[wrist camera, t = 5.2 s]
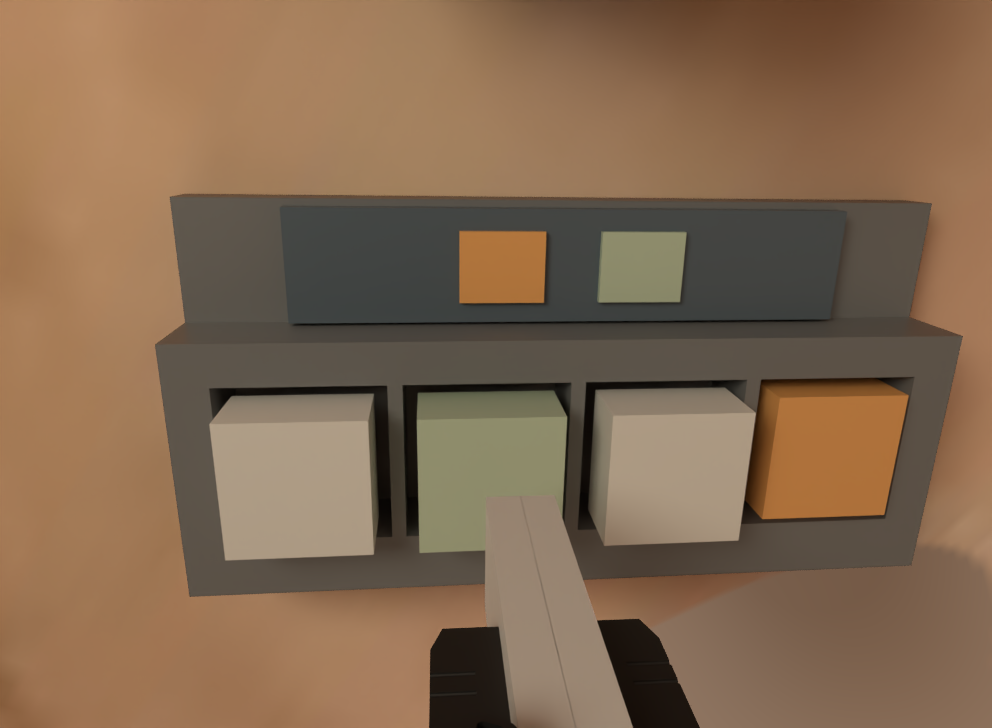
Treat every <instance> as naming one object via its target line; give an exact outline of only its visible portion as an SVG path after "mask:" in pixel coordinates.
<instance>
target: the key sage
mask: <svg viewBox="0 0 992 728" xmlns="http://www.w3.org/2000/svg"><path fill="white" fill-rule="evenodd" d="M566 430H567V416H566V414H565V412H564V410H563V408H562V406H561V404H560V402H559V400H558V398H557V396H556V394H555V392H554V390H548V391H490V392H432V393H418V403H417V454H418V502H419V551H420V553H431V552H457V551H483V550H485V541H486V497H501V496H540V495H555V498H556V501H557V504H558V507H559V510H560V513H561V516H562V511H563V491H564V470H565V450H566Z"/></svg>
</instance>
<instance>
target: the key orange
mask: <svg viewBox="0 0 992 728" xmlns="http://www.w3.org/2000/svg"><path fill="white" fill-rule="evenodd" d="M908 397H909V395H907V394H905V393H903V392H901V391H899V390H897V389H896V388H894V387H892V386H890V385H888V384H886V383H884V382H882V381H880V380H878V379H876V378H818V379H761V383H760V391H759V398H758V405H757V413H756V420H755V427H754V435H753V442H752V449H751V457H750V464H749V471H748V478H747V486H746V493H745V501H746V502H747V503H748V504H749V505H750V506H751V507H752V508H753V510H754V511H755V512H756V513H757V514H758V515H759V516H760V517H761V518H762V519H783V518H811V517H839V516H867V515H884V513H885V508H886V503H887V499H888V494H889V489H890V484H891V479H892V474H893V469H894V465H895V460H896V455H897V450H898V445H899V440H900V435H901V431H902V426H903V421H904V416H905V411H906V406H907V401H908Z"/></svg>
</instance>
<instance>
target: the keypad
mask: <svg viewBox="0 0 992 728" xmlns="http://www.w3.org/2000/svg"><path fill="white" fill-rule="evenodd" d="M170 203H171V211H172V219H173V227H174V235H175V243H176V251H177V260H178V268H179V276H180V284H181V292H182V300H183V309H184V317H185V323H184V324H183V325H181V326H180V327H179V328H177V329H176V330H174V331H173V332H172V333H170V334H169V335H168V336H166V337H165V338H163V339H162V340H161V341H159V342H158V343H157V344H155V348H156V355H157V363H158V370H159V377H160V384H161V392H162V399H163V406H164V413H165V421H166V428H167V435H168V443H169V450H170V457H171V464H172V472H173V479H174V486H175V494H176V501H177V508H178V515H179V523H180V530H181V537H182V545H183V552H184V559H185V566H186V574H187V581H188V588H189V595H190V597H194V596H217V595H240V594H263V593H286V592H309V591H332V590H355V589H378V588H401V587H424V586H447V585H470V584H485V550H483V551H457V552H431V553H420V551H419V502H418V454H417V403H418V393H432V392H490V391H548V390H554V392H555V394H556V396H557V398H558V400H559V402H560V404H561V406H562V408H563V410H564V412H565V414H566V416H567V430H566V450H565V470H564V491H563V511H562V519H563V522H564V525H565V528H566V531H567V534H568V537H569V540H570V543H571V546H572V549H573V552H574V554H575V557H576V560H577V563H578V566H579V569H580V572H581V575H582V578H583V580H586V579H609V578H632V577H655V576H678V575H701V574H724V573H747V572H770V571H793V570H816V569H839V568H863V567H884V566H885V567H886V566H906V565H907V566H909V565H911V564H912V560H913V555H914V551H915V547H916V542H917V538H918V533H919V529H920V524H921V520H922V515H923V511H924V507H925V502H926V498H927V493H928V489H929V484H930V480H931V475H932V471H933V466H934V462H935V457H936V453H937V449H938V444H939V440H940V435H941V431H942V426H943V422H944V417H945V413H946V408H947V404H948V400H949V395H950V391H951V386H952V382H953V377H954V373H955V368H956V364H957V359H958V355H959V351H960V346H961V342H962V337H963V336H961V335H958V334H955V333H952V332H950V331H947V330H944V329H941V328H938V327H936V326H933V325H930V324H927V323H924V322H921V321H919V320H916V319H913V318H910V317H909V316H910V311H911V305H912V300H913V295H914V290H915V285H916V280H917V275H918V270H919V265H920V260H921V255H922V250H923V245H924V240H925V235H926V230H927V225H928V220H929V215H930V210H931V205H932V203H923V202H914V201H901V200H792V199H682V198H573V197H463V196H354V195H244V194H182V195H177V196H172V197H170ZM818 378H876V379H878V380H880V381H882V382H884V383H886V384H888V385H890V386H892V387H894V388H896V389H897V390H899V391H901V392H903V393H905V394H907V395H909V397H908V401H907V406H906V411H905V416H904V421H903V426H902V431H901V435H900V440H899V445H898V450H897V455H896V460H895V465H894V469H893V474H892V479H891V484H890V489H889V494H888V499H887V503H886V508H885V513H884V515H867V516H839V517H811V518H783V519H762V518H761V517H760V516H759V515H758V514H757V513H756V512H755V511H754V510H753V508H752V507H751V506H750V505H749V504H748V503H747V502H746V501H745V496H744V504H743V511H742V518H741V526H740V533H739V540H738V541H714V542H689V543H663V544H637V545H611V546H604V544H603V542H602V540H601V537H600V535H599V533H598V531H597V528H596V526H595V524H594V522H593V519H592V517H591V515H590V512H589V510H588V502H589V486H590V469H591V453H592V437H593V421H594V404H595V390H606V389H664V388H721V387H725V388H726V389H727V390H728V391H730V392H731V393H732V394H733V395H735V396H736V397H737V398H738V399H740V400H741V401H742V402H743V403H744V404H746V405H747V406H748V407H749V408H751V409H752V410H753V411H754V412H756V413H757V405H758V398H759V391H760V383H761V379H818ZM317 394H374V405H375V430H376V455H377V480H378V505H379V519H378V527H377V535H376V542H375V550H374V555H354V556H328V557H302V558H276V559H251V560H225V554H224V545H223V537H222V528H221V520H220V511H219V503H218V494H217V486H216V477H215V469H214V460H213V451H212V443H211V434H210V426H209V424H210V423H211V421H212V420H213V419H214V418H215V416H216V415H217V414H218V413H219V411H220V410H221V409H222V407H223V406H224V405H225V404H226V402H227V401H228V400H229V399H230V397H231V396H259V395H317ZM755 420H756V416H755ZM754 427H755V423H754ZM753 435H754V431H753ZM752 442H753V438H752ZM751 449H752V445H751ZM750 457H751V453H750ZM749 464H750V460H749ZM748 471H749V467H748ZM747 478H748V474H747ZM746 486H747V482H746ZM745 493H746V489H745Z"/></svg>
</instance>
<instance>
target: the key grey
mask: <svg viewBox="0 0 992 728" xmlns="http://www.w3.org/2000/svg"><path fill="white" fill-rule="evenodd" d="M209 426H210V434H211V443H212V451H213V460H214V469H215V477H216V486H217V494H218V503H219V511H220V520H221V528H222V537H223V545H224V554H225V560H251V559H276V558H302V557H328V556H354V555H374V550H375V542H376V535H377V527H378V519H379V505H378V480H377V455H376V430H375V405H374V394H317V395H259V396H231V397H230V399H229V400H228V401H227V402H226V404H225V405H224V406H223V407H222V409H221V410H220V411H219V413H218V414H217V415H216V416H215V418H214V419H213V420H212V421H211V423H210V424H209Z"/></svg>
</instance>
